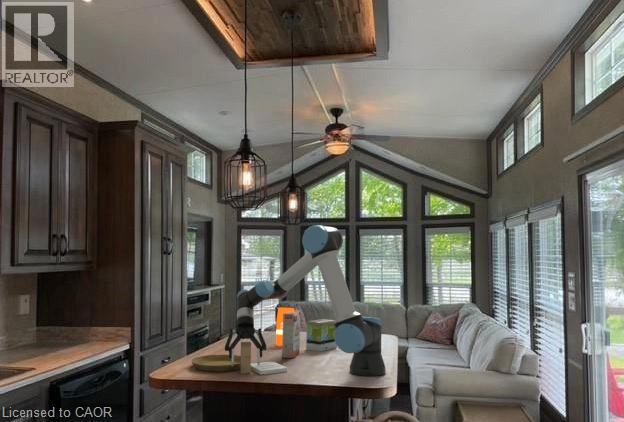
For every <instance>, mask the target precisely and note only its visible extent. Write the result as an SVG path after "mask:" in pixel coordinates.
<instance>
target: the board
mask: <svg viewBox="0 0 624 422" xmlns="http://www.w3.org/2000/svg"><path fill="white" fill-rule="evenodd" d="M251 371H253V372H255V373H257V374H258V373H259V375H260V374H261V376H262V374H264V375H271V374H279V373H287V372H288V367H286V366H285V365H282V364H280V363H277V362H275V361H266V362H260V366H258V362H255V363H251Z"/></svg>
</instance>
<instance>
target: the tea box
mask: <svg viewBox="0 0 624 422" xmlns="http://www.w3.org/2000/svg"><path fill="white" fill-rule="evenodd" d="M335 320H336V319H335ZM335 320H333V319H326V318H322V319H321V318H320V319H313V320H307V321H306V339H305V341H306V342H305V349H306V350H309V351H313V352H323V351H326V350H327V351H328V350H333V349H337V348H338V346H337V345H336V343H335V340H334V334H335V331H336V328H335V325H334V322H335Z"/></svg>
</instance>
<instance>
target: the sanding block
mask: <svg viewBox="0 0 624 422" xmlns="http://www.w3.org/2000/svg"><path fill="white" fill-rule="evenodd" d="M251 342H252V341H240V356H241V361H240V368H239V370H240V371H239V372H240V375H250V374H251V373H252V372H251V371H252V370H251V364H252V343H251Z"/></svg>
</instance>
